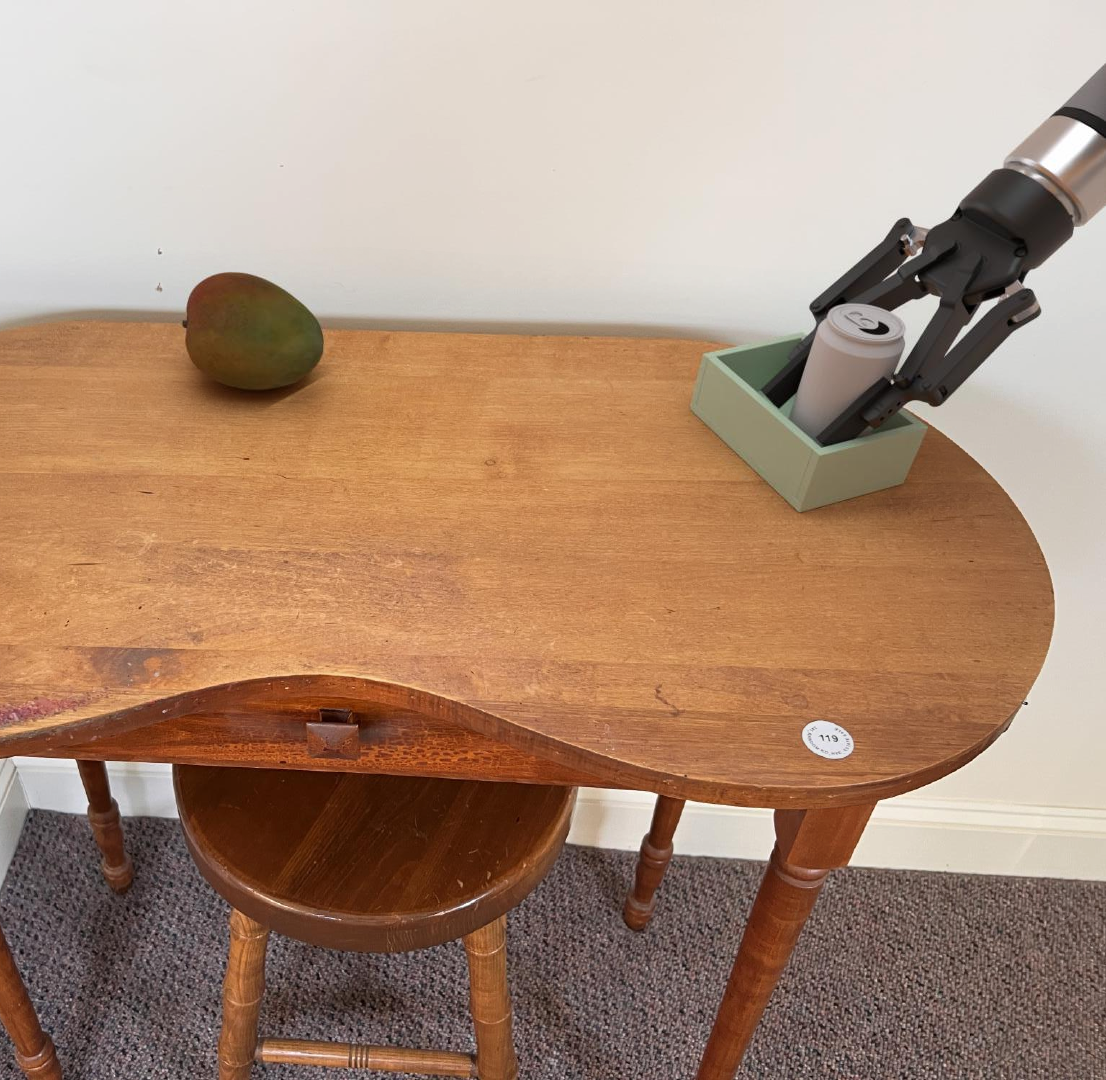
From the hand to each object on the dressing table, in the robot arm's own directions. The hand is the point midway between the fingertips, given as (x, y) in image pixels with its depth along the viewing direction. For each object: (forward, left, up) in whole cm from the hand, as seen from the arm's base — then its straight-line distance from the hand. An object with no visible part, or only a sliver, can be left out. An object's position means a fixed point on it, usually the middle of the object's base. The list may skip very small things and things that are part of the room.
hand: (797, 422), depth 83 cm
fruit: (+29, +37, -5) cm, 48 cm away
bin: (+3, -4, -5) cm, 7 cm away
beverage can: (0, -4, -4) cm, 5 cm away
